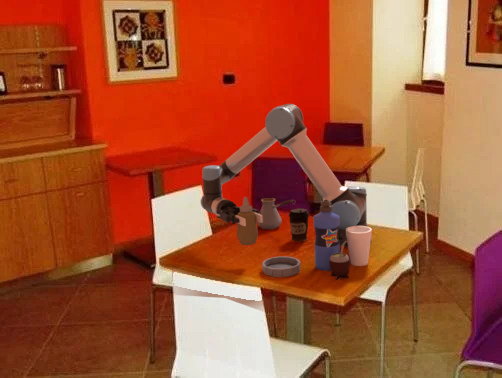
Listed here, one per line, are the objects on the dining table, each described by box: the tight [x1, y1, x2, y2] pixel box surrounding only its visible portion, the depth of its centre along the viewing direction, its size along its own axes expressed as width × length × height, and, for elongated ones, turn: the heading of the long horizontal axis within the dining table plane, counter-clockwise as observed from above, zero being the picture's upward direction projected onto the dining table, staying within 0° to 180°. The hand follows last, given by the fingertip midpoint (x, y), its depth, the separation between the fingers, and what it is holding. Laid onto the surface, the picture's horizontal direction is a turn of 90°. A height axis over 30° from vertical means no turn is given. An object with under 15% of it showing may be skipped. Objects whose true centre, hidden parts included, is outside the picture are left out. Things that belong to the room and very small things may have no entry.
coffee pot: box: [256, 197, 296, 230], centre depth 270 cm, size 21×12×15 cm, turn 46°
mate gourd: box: [329, 240, 351, 281], centre depth 209 cm, size 8×8×15 cm
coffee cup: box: [288, 208, 310, 243], centre depth 253 cm, size 9×8×13 cm
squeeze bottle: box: [236, 196, 259, 246], centre depth 226 cm, size 8×8×18 cm
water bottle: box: [312, 200, 341, 272], centre depth 219 cm, size 9×9×25 cm
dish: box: [261, 255, 302, 278], centre depth 220 cm, size 14×14×3 cm
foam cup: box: [346, 226, 373, 267], centre depth 222 cm, size 10×9×13 cm
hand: (253, 220), depth 221 cm, fingers closed on squeeze bottle, 6 cm apart
